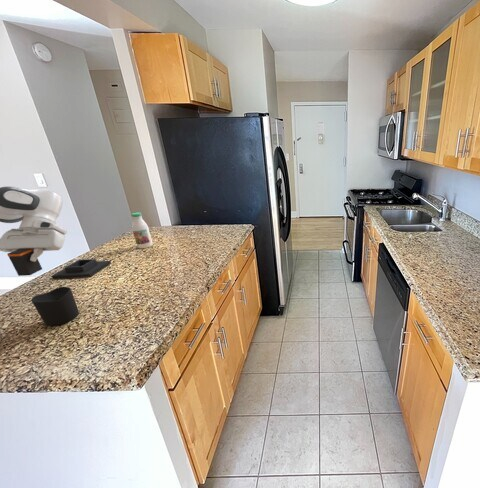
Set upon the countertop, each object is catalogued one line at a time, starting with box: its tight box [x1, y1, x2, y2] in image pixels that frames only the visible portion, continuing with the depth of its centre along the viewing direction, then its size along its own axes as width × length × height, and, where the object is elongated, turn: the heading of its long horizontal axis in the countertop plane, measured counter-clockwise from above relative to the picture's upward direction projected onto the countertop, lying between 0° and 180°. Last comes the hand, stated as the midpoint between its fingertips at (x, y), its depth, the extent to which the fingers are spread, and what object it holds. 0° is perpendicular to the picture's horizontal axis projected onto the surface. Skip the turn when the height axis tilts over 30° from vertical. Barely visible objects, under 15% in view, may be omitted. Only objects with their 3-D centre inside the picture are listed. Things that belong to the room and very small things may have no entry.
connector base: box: [51, 258, 112, 280], centre depth 123 cm, size 16×14×4 cm
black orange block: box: [6, 248, 43, 277], centre depth 96 cm, size 4×5×9 cm
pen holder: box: [31, 286, 80, 327], centre depth 89 cm, size 9×9×10 cm
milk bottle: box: [130, 212, 154, 249], centre depth 148 cm, size 8×8×20 cm
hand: (23, 261), depth 96 cm, fingers closed on black orange block, 4 cm apart
